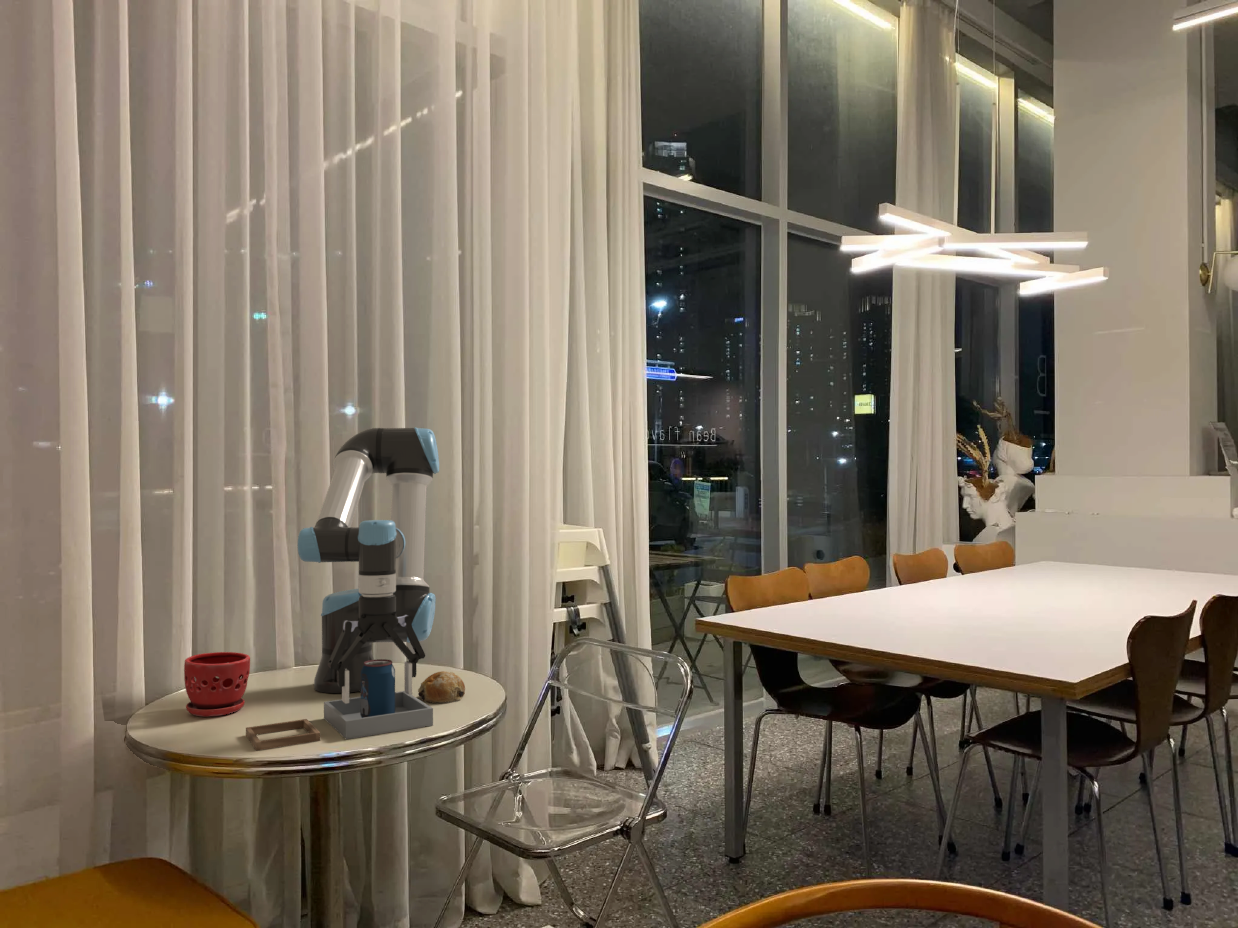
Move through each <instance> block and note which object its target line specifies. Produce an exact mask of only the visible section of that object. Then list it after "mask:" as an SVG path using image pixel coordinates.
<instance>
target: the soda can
mask: <svg viewBox="0 0 1238 928" xmlns="http://www.w3.org/2000/svg"><path fill="white" fill-rule="evenodd" d="M395 692H396V668H395V666H394V664H393V661H392V660H391V659H386V658H385V659H382V658H381V659H377V658H376V659H374V660H369V661H366V662H364V666H363V668H362V670H361V691H360V697H361V709H360V715H361V717H362V718H364V717H371V716H378V715H384V714H391V713H395Z"/></svg>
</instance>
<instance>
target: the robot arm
mask: <svg viewBox="0 0 1238 928" xmlns="http://www.w3.org/2000/svg"><path fill="white" fill-rule="evenodd" d="M437 444H438V443H437V439H436V436H435V433H434V431H433V430H432V429H430V428H422V427H421V428H420V427H416V426H415V427H385V428H383V427H373V428H366V429H365V430H362V431H360V432H358V433H356V434H355V435H352V437H350V438H349V439H348V440H347V441H345V443H343V444H342V446H340V448H339V449H338V451H337V453H336V454H335V457H334V459H333V464H332V468H333V471H334V472H333V474H332V477H331V481H330V483H329V485H328V489H327V491H326V494H325V497H324V500H323V503H322V504H321V505H322V506H321V509H320V511H319V513H318V516H317V518H316V522H315V523H314V524H315V525H314V527H313V526H310V527H305V528H302V529H301V530H300V531H299V532H298V533H299V534H298V536H297V552H298V557H299V559H300V560H301V561H303V562H307V563H309V562H311V563H318V564H319V563H345V562H346V563H347V562H348V563H349V562H351V563H352V562H353V563H354V562H358V588H355V589H353V588H352V589H347V590H341V591H336V592H333V593H330V594H328V595H326V596H325V597H324V598H323V599H322V605H321V614H320V616H321V658H320V662H319V664H318V667H317V671H316V673H315V675H314V682H313V683H314V684H313V689H314V690H315V691H317V692H320V693H326V694H341V699H342V701H343V702H344V703H345V704H346V703H349V698H350V693H357V692H361V670H362V668H363V666H364V662H366V661H369V660H375V659H374V656H373V655H374V654H373V646H372V645H373V643H393V644H394V645H395V646H396V647H397V648H398V649H399V651H400V653H402V654H403V655H404V656H405V657H406V659H407V660H408V661H404V666H403V667H404V691H405V693H407V694H408V695H413V678H416V676H417V663H418V662H419V661H420V660H421V659H425V657H426V653H425V651H424V649H423V647H422V644H421V642H424V641H425V640H427V639H428V638H429V636H430V634H431V631H432V628H433V626H434V625H433V624H434V619H435V612H436V599H437V598H436V595H435V593H432V592H430V585H429V584H428V583H427V582H426V581H425V579H424V575H425V571H424V570H425V545H426V544H425V543H426V541H425V540H426V539H425V538H426V512H427V511H426V509H427V508H426V506H427V488H428V486H429V485H430V484H431V483H432V482H433V480H434V475H436V474H438V473H439V472H440V458H439V449H438V445H437ZM373 474H385V475H386V476H385V480H386V481H387V482H388V483H389V484H390V485H391V499H390V503H391V504H390V519H373V520H372V519H369V520H363V521H361V522H360V523H359V526H358V527H352V524H353V521H354V517H355V515H356V511H357V508H358V505H359V503H360V498H361V497H362V496H361V495H362V492H363V488H364V486H365V484H366V483H365V482H366V481H367V480H369V479H370V477H372V475H373ZM406 643H409V644H410V645H411V647H412V649H413V652H414V653H413V652H412V650H411V649H410V648H409V647H408V646H407V645H406Z"/></svg>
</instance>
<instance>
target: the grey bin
mask: <svg viewBox="0 0 1238 928" xmlns="http://www.w3.org/2000/svg"><path fill="white" fill-rule="evenodd" d="M360 709H361V696H357V697H356V696H355V697H349V703H346V704H345V703H344V702H343V701H342V698H341V699H335V700H328V701H323V719H324V720H325V721H326V722H327V723H328V724H329V725H330V726H331V727H332V728H333V729H334V730H335V731H336V732H338V734H340V735H341V736H342V738H344V739H345V740H351V739H356V738H358V739H359V738H362V737H369V736H370V737H371V736H376V735H381V734H387V733H394V732H395V733H396V732H400V731H401V732H402V731H406V730H413V729H418V728H419V729H420V728H425V726H427V727H431V726H432V725H433V726H434V708H433V707H432V706H430V705H428V703H425V701H423V700H422V699H419V698H417V697H416V696H414V695H413V694H411V695H408V694H407V693H405V690H401V691H395V713H391V714H384V715H378V716H371V717H364V718H362V717H361V715H360Z"/></svg>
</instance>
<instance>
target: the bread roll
mask: <svg viewBox="0 0 1238 928" xmlns="http://www.w3.org/2000/svg"><path fill="white" fill-rule="evenodd" d="M417 692H418V693H417V695H418V697H420V700H421V701H422V702H425V701H426V703H431V702H432V703H431V704H437V703H438V704H439V703H440V704H445V703H446V702H449V703H454V702H460V701H461V700H462V699H463V697H464V696H465V693H466V686H465V682H464V681H463V679H462V678H461V677H460V676H459V675H458V674H455V672H453V671H450V672H449V671H444V670H441V671H437V672H434V673H432V674H431V675H428V676H427V677H426V678H425V679H424V680H423V681H422V682H421V683H420V686H419V688H418V689H417ZM453 701H454V702H453ZM446 704H447V703H446Z"/></svg>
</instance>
